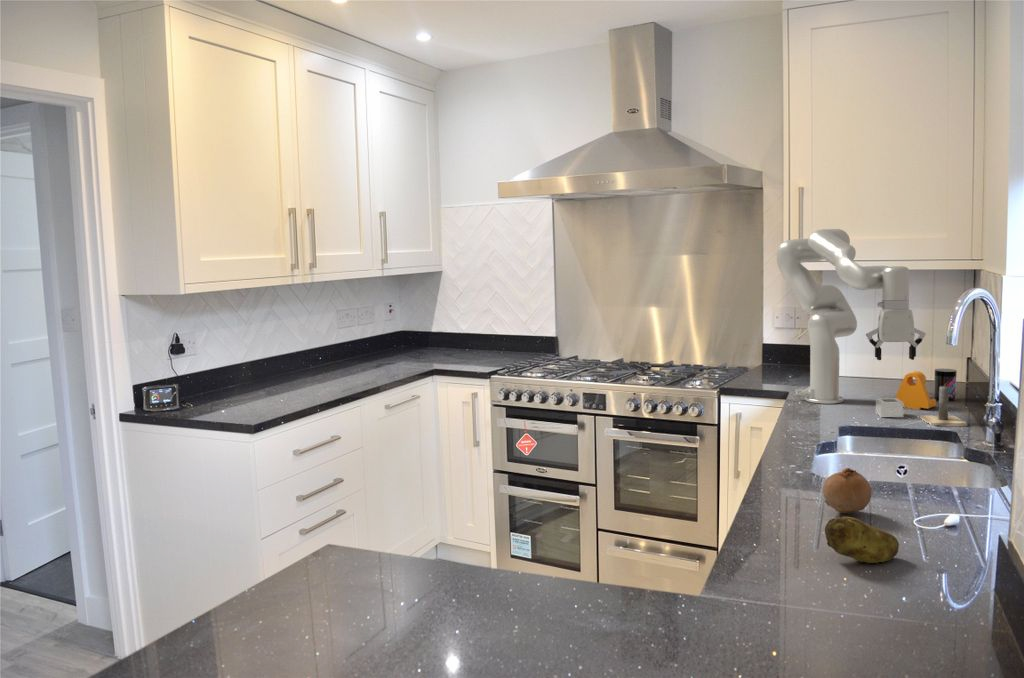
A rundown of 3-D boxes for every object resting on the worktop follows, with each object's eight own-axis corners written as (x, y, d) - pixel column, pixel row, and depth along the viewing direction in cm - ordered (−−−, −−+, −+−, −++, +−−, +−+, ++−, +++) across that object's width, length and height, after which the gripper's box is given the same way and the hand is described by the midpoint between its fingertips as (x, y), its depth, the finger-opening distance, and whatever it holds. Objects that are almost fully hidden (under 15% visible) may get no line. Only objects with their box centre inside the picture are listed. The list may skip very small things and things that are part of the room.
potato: (905, 572, 138) (906, 528, 137) (826, 567, 141) (827, 523, 140) (895, 553, 146) (896, 511, 145) (821, 549, 149) (821, 508, 148)
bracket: (936, 407, 264) (937, 371, 263) (928, 411, 259) (929, 374, 258) (903, 403, 272) (904, 368, 271) (894, 406, 267) (895, 371, 266)
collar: (881, 418, 252) (881, 402, 251) (875, 413, 258) (875, 398, 257) (903, 418, 250) (903, 402, 250) (897, 413, 257) (897, 398, 256)
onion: (868, 524, 161) (869, 476, 160) (819, 517, 166) (820, 471, 165) (873, 509, 169) (874, 464, 168) (826, 504, 174) (826, 459, 173)
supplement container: (933, 400, 274) (933, 371, 273) (934, 397, 280) (935, 368, 278) (955, 402, 271) (956, 372, 269) (956, 398, 276) (957, 369, 275)
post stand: (930, 426, 239) (932, 390, 238) (920, 418, 249) (921, 384, 248) (967, 426, 237) (968, 390, 236) (954, 418, 247) (955, 384, 246)
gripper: (869, 307, 248) (868, 361, 250) (929, 305, 245) (928, 360, 246) (863, 305, 256) (863, 358, 257) (921, 304, 252) (921, 357, 254)
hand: (895, 359), depth 252 cm, fingers open, 9 cm apart
